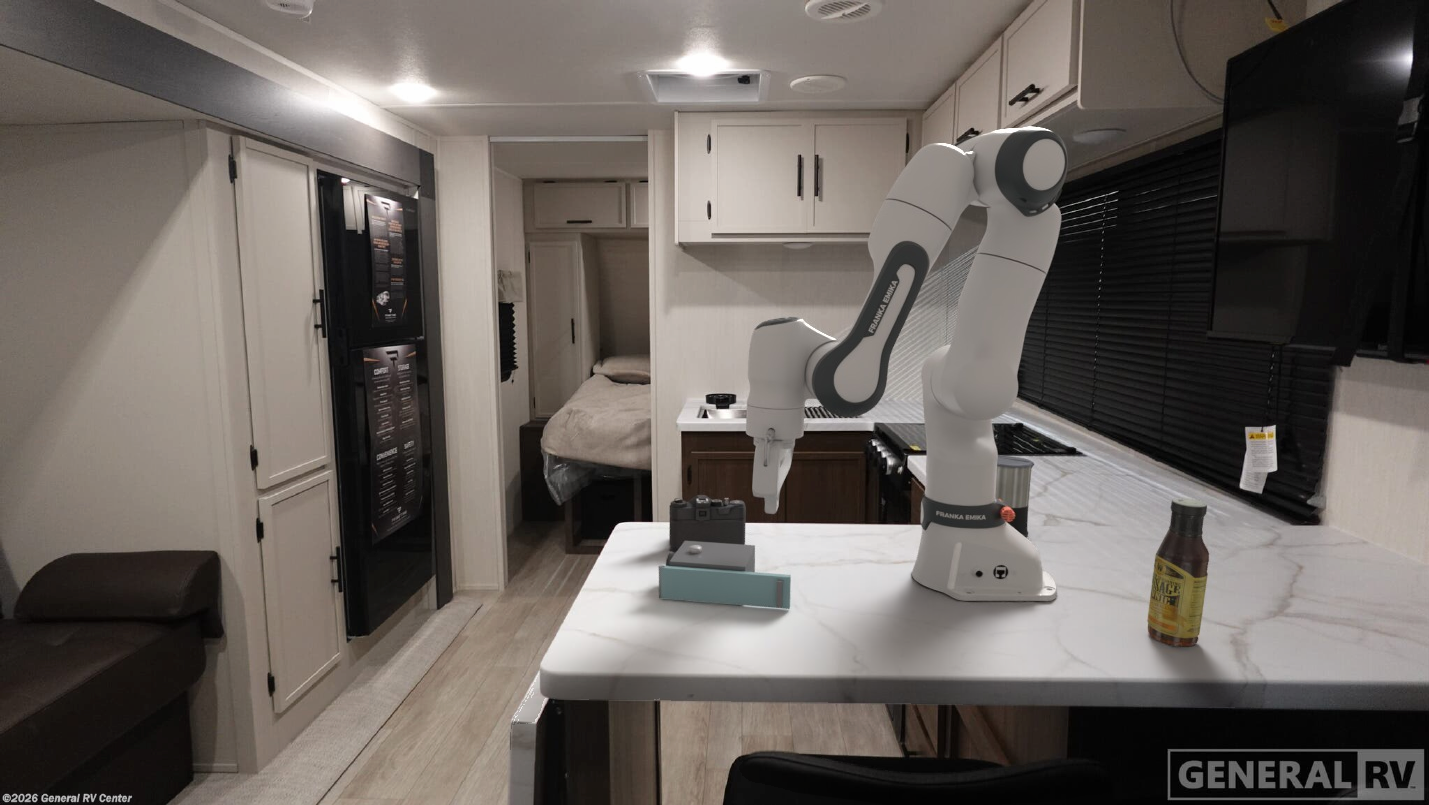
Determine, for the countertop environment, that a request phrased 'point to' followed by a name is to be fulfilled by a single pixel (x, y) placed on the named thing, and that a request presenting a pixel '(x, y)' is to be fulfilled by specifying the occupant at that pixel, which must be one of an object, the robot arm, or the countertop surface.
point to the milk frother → (1015, 488)
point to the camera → (706, 521)
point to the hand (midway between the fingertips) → (771, 511)
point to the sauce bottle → (1180, 577)
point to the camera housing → (714, 556)
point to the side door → (725, 586)
